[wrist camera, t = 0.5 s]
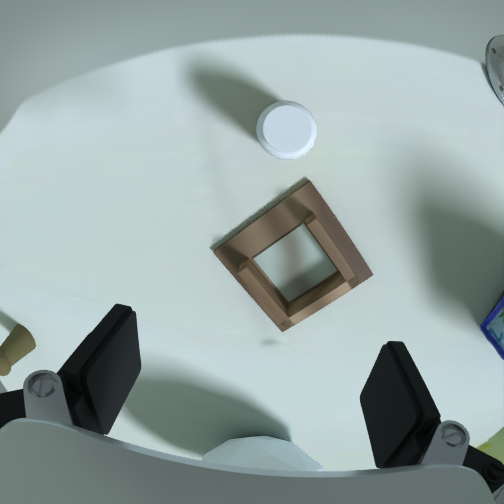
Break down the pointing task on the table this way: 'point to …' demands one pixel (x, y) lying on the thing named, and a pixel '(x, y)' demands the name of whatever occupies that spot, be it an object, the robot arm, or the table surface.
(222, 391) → the table surface
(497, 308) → the lunch bag
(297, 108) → the supplement bottle
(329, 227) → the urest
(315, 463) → the geometric polyhedron
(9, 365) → the olive game pawn
